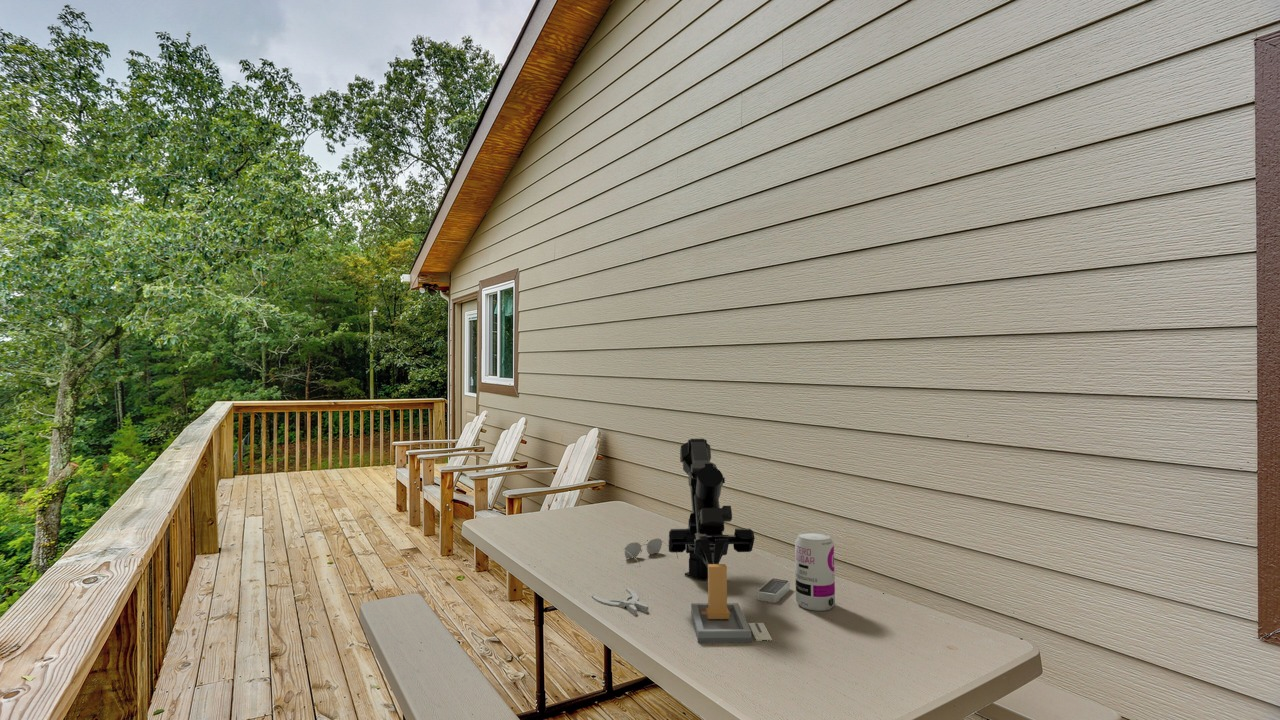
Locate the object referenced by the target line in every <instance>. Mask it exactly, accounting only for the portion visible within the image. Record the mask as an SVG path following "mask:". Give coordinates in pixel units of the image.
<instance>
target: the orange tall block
mask: <svg viewBox="0 0 1280 720" xmlns="http://www.w3.org/2000/svg"><path fill="white" fill-rule="evenodd" d="M727 569H728V568H727V565H726V564H725V563H719V564H708V580H707V601H708V602H707V603H708V608H706V615H707V618H708V619H730V613H729V610H728V608H727V603H728V575H727V573H728V572H727Z"/></svg>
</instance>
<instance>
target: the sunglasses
mask: <svg viewBox="0 0 1280 720" xmlns="http://www.w3.org/2000/svg"><path fill="white" fill-rule="evenodd" d="M663 543H664V544H665V545H666V546H668V547H669V545H668V544H667V543H666V542H665V541H664V540H662V538H658V537H657V538H653V539H650V540H649V541H648V542H647V543H644V544H642V545H641V543H640V542H629V543H628V544H626V546H625V547H623V551H624V557H625V559H626V560H628V559H627V558H631V559H635V560H636V561H637V562H638V564H639V567H641V565H640V562H639V560H638V559H637V557H638V556H639V554H640V555H641V554H642V552H643V549H642V547H644V546H646V552H647V554H651V555H655V554H654V553H657V554H659V553H660V551H661V549H662V545H663ZM675 553H676V557H677V558H678V559H679V556H678V552H675ZM632 557H634V558H632ZM635 557H636V558H635Z"/></svg>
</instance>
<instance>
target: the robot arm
mask: <svg viewBox="0 0 1280 720" xmlns="http://www.w3.org/2000/svg"><path fill="white" fill-rule="evenodd" d="M707 441H708V440H707V439H705V438H690V439H688V440H687V442H685V443H683V444H682V445H680V449H679V450H680V451H679V462H680V463H682V470H683V472H684V473H685V474H687V475H688V479H687V480H688V481H687V482H688V487H689V489H690V491H689V492H690V499H691V500H690V501H691V502H690V503H691V513H690V515H689V519H688V522H687V528H671V529H670V530H669V531H668V544H667V545H668V552H670V553H684V552H685V553H686V554H689V558H688V571H687V572H684V576H685V577H689V578H693V579H696V580H701V581H708V564H720V562H721V559H722V557H723V556H727V554H728V551H729V545H733V550H734V551H736V552H737V553H750V552H752V551H753V547H754V543H755V533H754V531H753V530H752V529H751V528H735V529H734V534H724V533H723V532H725V522H726V523H727V522H728V523H729V522H732V520H733V512H732V506H731V505H722V507H720V501H719V499H720V497H721V493H722V486H723V485H724V484H725V481H726V480H725V479H726V478H725V477H724V476H723V475H724V474H723V473H722V472H721V470H720V469H718V467H717V465H716V464H715V463H713V462H711V459H712V451H711V444H709V443H708V442H707Z"/></svg>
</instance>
